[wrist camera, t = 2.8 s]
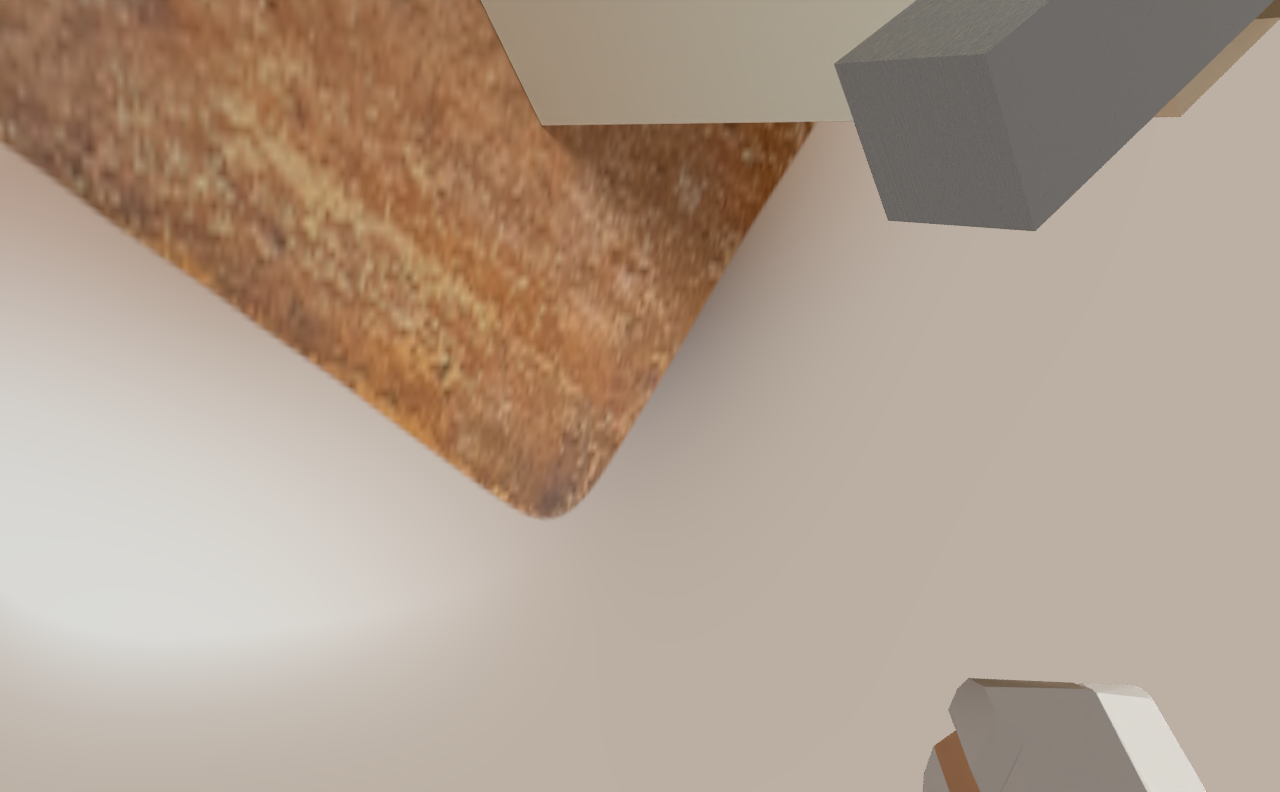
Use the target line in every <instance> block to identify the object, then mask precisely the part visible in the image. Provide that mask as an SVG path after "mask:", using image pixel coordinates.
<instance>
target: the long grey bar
mask: <svg viewBox="0 0 1280 792" xmlns="http://www.w3.org/2000/svg"><path fill="white" fill-rule="evenodd" d="M1273 1H1274V0H916V1H915V2H914V3H912V4H911V5H910V6H908V7H907V8H906V9H904V10H903V11H902V12H901V13H899V14H898V15H897V16H895V17H894V18H893V19H891V20H890V21H889V22H888V23H886V24H885V25H884V26H882V27H881V28H880V29H878V30H877V31H876V32H875V33H873V34H872V35H871V36H869V37H868V38H867V39H865V40H864V41H863V42H862V43H860V44H859V45H858V46H856V47H855V48H854V49H852V50H851V51H850V52H849V53H847V54H846V55H845V56H843V57H842V58H841V59H839V60H838V61H837V62H836V63H834V66H835V68H836V71H837V74H838V77H839V80H840V83H841V86H842V89H843V92H844V94H845V97H846V100H847V103H848V106H849V109H850V112H851V115H852V117H853V120H854V123H855V126H856V129H857V132H858V135H859V138H860V140H861V143H862V146H863V149H864V152H865V155H866V158H867V161H868V164H869V166H870V169H871V172H872V175H873V178H874V181H875V184H876V187H877V189H878V192H879V195H880V198H881V201H882V204H883V207H884V209H885V213H886V215H887V218H888V220H889V221H903V222H917V223H930V224H944V225H959V226H972V227H987V228H1000V229H1014V230H1028V231H1036V230H1037V229H1038V228H1039V227H1040V226H1041V225H1042V224H1043V223H1044V222H1045V221H1046V220H1047V219H1048V218H1049V217H1050V216H1051V215H1052V214H1053V213H1054V212H1055V211H1056V210H1058V209H1059V208H1060V207H1061V206H1062V205H1063V204H1064V203H1065V202H1066V201H1067V200H1068V199H1069V198H1070V197H1071V196H1072V195H1073V194H1074V193H1075V192H1076V191H1077V190H1078V189H1079V188H1080V187H1081V186H1082V185H1083V184H1084V183H1086V182H1087V181H1088V179H1090V178H1091V177H1092V176H1093V175H1094V174H1095V173H1096V172H1097V171H1098V170H1099V169H1100V168H1101V167H1102V166H1103V165H1104V164H1105V163H1106V162H1107V161H1108V160H1109V159H1110V158H1111V157H1112V156H1113V155H1115V154H1116V153H1117V152H1118V150H1120V149H1121V148H1122V147H1123V146H1124V145H1125V144H1126V143H1127V142H1128V141H1129V140H1130V139H1131V138H1132V137H1133V136H1134V135H1135V134H1136V133H1137V132H1138V131H1139V130H1140V129H1141V128H1143V127H1144V126H1145V125H1146V124H1147V123H1148V122H1149V121H1150V120H1151V119H1152V118H1153V117H1154V116H1155V115H1156V114H1157V113H1158V112H1159V111H1160V110H1161V109H1162V108H1163V107H1164V106H1165V105H1166V104H1167V103H1168V102H1169V101H1170V100H1172V99H1173V98H1174V97H1175V96H1176V95H1177V94H1178V93H1179V92H1180V91H1181V90H1182V89H1183V88H1184V87H1185V86H1186V85H1187V84H1188V83H1189V82H1190V81H1191V80H1192V79H1193V78H1194V77H1195V76H1196V75H1197V74H1198V73H1199V72H1201V71H1202V70H1203V69H1204V68H1205V67H1206V66H1207V65H1208V64H1209V63H1210V62H1211V61H1212V60H1213V59H1214V58H1215V57H1216V56H1217V55H1218V54H1219V53H1220V52H1221V51H1222V50H1223V49H1224V48H1225V47H1226V46H1227V45H1229V44H1230V43H1231V42H1232V41H1233V40H1234V39H1235V38H1236V37H1237V36H1238V35H1239V34H1240V33H1241V32H1242V31H1243V30H1244V29H1245V28H1246V27H1247V26H1248V25H1249V24H1250V23H1251V22H1252V21H1253V20H1254V19H1255V18H1256V17H1258V16H1259V15H1260V14H1261V13H1262V12H1263V11H1264V10H1265V9H1266V8H1267V7H1268V6H1269V5H1270V4H1271V3H1272V2H1273Z"/></svg>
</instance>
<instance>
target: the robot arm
mask: <svg viewBox="0 0 1280 792" xmlns="http://www.w3.org/2000/svg"><path fill="white" fill-rule="evenodd" d="M949 713H950V715H951V718H952V721H953V723H954V726H955V729H956V731H954V732H953V733H951V734H950V735H949V736H947V737H946V738H944V739H943V740H942V741H940V742H939V743H937V744H936V745H935V746H934V747H933V750H932V752H931V756H930V758H929V761H928V764H927V767H926V769H925V772H924V782H923V783H924V784H923V792H1207V791H1206V790H1205V788H1204V786H1203V785H1202V783H1201V781H1200V780H1199V778H1198V776H1197V774H1196V773H1195V771H1194V769H1193V768H1192V766H1191V764H1190V763H1189V761H1188V759H1187V758H1186V756H1185V754H1184V752H1183V751H1182V749H1181V747H1180V745H1179V744H1178V742H1177V740H1176V739H1175V737H1174V735H1173V733H1172V732H1171V730H1170V728H1169V727H1168V725H1167V723H1166V722H1165V720H1164V718H1163V716H1162V715H1161V713H1160V711H1159V710H1158V708H1157V706H1156V704H1155V703H1154V701H1153V699H1152V698H1151V697H1150V695H1149V694H1147V693H1146V692H1145V691H1144V690H1142V689H1141V688H1140V687H1139V686H1135V685H1112V684H1090V683H1081V684H1075V683H1063V682H1043V681H1042V682H1041V681H1020V680H997V679H974V678H968V679H967V680H966V681H965V682H964V683H963V684H962V685H961V686H960V687H959V688H958V689H957V691H956V694H955V696H954V698H953V700H952V703H951V705H950V708H949Z"/></svg>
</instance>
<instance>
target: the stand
mask: <svg viewBox="0 0 1280 792" xmlns="http://www.w3.org/2000/svg"><path fill="white" fill-rule="evenodd" d="M915 1H916V0H481V2H482V4H483V6H484V8H485V10H486V12H487V15H488V17H489V19H490V21H491V23H492V25H493V27H494V29H495V31H496V33H497V35H498V37H499V39H500V41H501V43H502V45H503V47H504V49H505V51H506V53H507V55H508V58H509V60H510V62H511V64H512V66H513V68H514V70H515V72H516V74H517V76H518V78H519V80H520V82H521V84H522V86H523V88H524V90H525V92H526V94H527V96H528V99H529V101H530V103H531V105H532V107H533V109H534V111H535V113H536V115H537V117H538V119H539V121H540V123H541V125H614V124H687V123H761V122H830V121H833V122H834V121H854V120H853V117H852V115H851V112H850V109H849V106H848V103H847V100H846V97H845V94H844V92H843V89H842V86H841V83H840V80H839V77H838V74H837V71H836V68H835V66H834V63H836V62H837V61H838V60H839V59H841V58H842V57H843V56H845V55H846V54H847V53H849V52H850V51H851V50H852V49H854V48H855V47H856V46H858V45H859V44H860V43H862V42H863V41H864V40H865V39H867V38H868V37H869V36H871V35H872V34H873V33H875V32H876V31H877V30H878V29H880V28H881V27H882V26H884V25H885V24H886V23H888V22H889V21H890V20H891V19H893V18H894V17H895V16H897V15H898V14H899V13H901V12H902V11H903V10H904V9H906V8H907V7H908V6H910V5H911V4H912V3H914V2H915ZM1279 19H1280V0H1274V1H1273V2H1272V3H1271V4H1270V5H1269V6H1268V7H1267V8H1266V9H1265V10H1264V11H1263V12H1262V13H1261V14H1260V15H1259V16H1258V17H1256V18H1255V19H1254V20H1253V21H1252V22H1251V23H1250V24H1249V25H1248V26H1247V27H1246V28H1245V29H1244V30H1243V31H1242V32H1241V33H1240V34H1239V35H1238V36H1237V37H1236V38H1235V39H1234V40H1233V41H1232V42H1231V43H1230V44H1229V45H1227V46H1226V47H1225V48H1224V49H1223V50H1222V51H1221V52H1220V53H1219V54H1218V55H1217V56H1216V57H1215V58H1214V59H1213V60H1212V61H1211V62H1210V63H1209V64H1208V65H1207V66H1206V67H1205V68H1204V69H1203V70H1202V71H1201V72H1199V73H1198V74H1197V75H1196V76H1195V77H1194V78H1193V79H1192V80H1191V81H1190V82H1189V83H1188V84H1187V85H1186V86H1185V87H1184V88H1183V89H1182V90H1181V91H1180V92H1179V93H1178V94H1177V95H1176V96H1175V97H1174V98H1173V99H1172V100H1170V101H1169V102H1168V103H1167V104H1166V105H1165V106H1164V107H1163V108H1162V109H1161V110H1160V111H1159V112H1158V113H1157V114H1156V115H1155V116H1154V117H1180V116H1181V115H1182V114H1183V113H1185V111H1186V110H1188V108H1190V107H1191V106H1192V105H1193V104H1194V103H1195V102H1196V101H1197V100H1198V99H1199V98H1200V97H1201V96H1202V95H1203V94H1204V93H1205V92H1206V91H1207V90H1208V89H1209V88H1210V87H1211V86H1212V85H1213V84H1214V83H1215V82H1216V81H1217V80H1218V79H1219V78H1220V77H1221V76H1222V75H1223V74H1224V73H1225V72H1226V71H1227V70H1228V69H1229V68H1230V67H1231V66H1232V65H1233V64H1234V63H1235V62H1236V61H1237V60H1238V59H1239V58H1240V57H1241V56H1243V54H1245V52H1247V50H1249V49H1250V48H1251V47H1252V46H1253V45H1254V44H1255V43H1256V42H1257V41H1258V40H1259V39H1260V38H1261V37H1262V36H1263V35H1264V34H1265V33H1266V32H1267V31H1268V30H1269V29H1270V28H1271V27H1272V26H1273V25H1274V24H1275V23H1276V22H1277V21H1278V20H1279Z"/></svg>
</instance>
